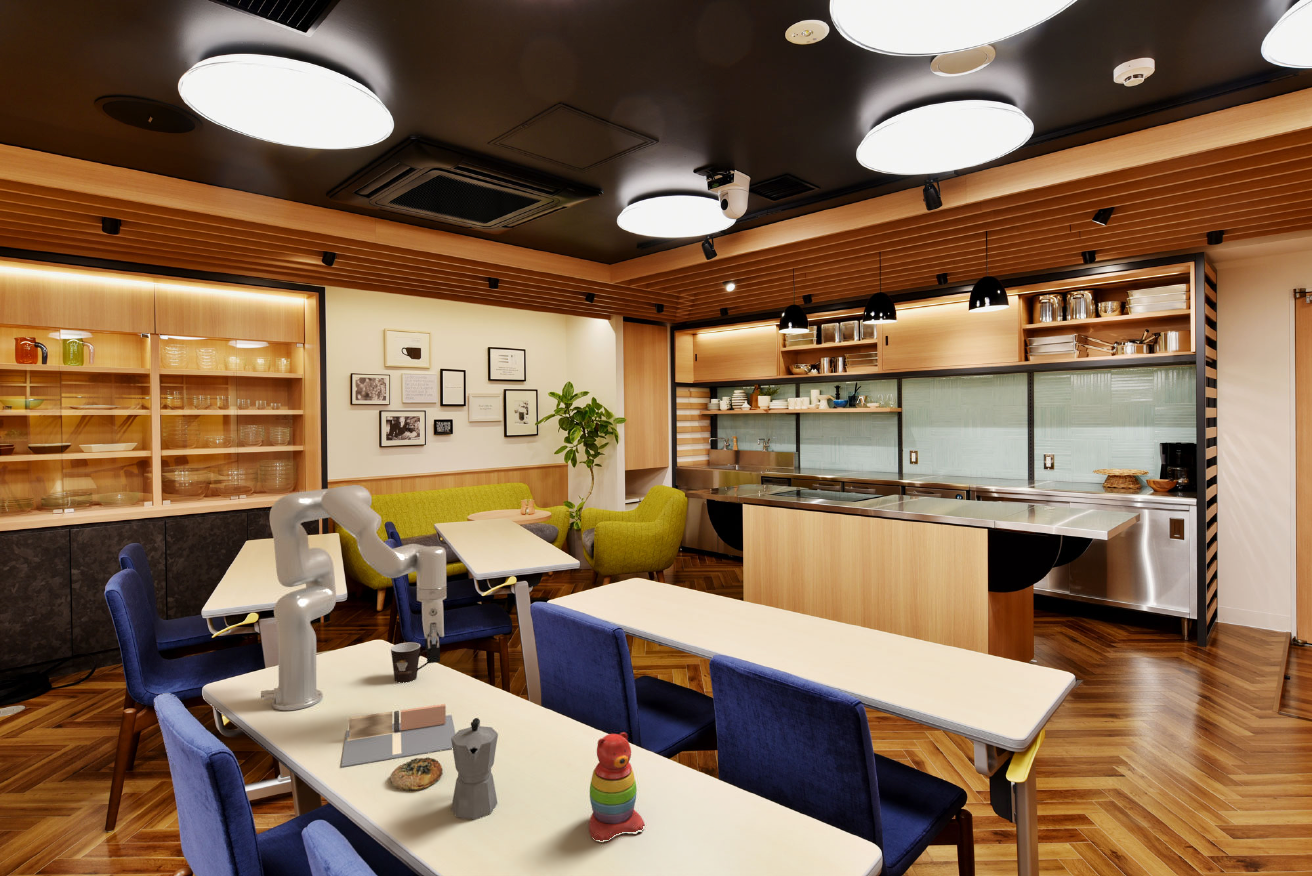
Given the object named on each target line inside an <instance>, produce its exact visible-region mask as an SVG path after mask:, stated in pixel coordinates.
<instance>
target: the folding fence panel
mask: <svg viewBox="0 0 1312 876" xmlns="http://www.w3.org/2000/svg"><path fill="white" fill-rule="evenodd" d="M446 708H447V707H446V703H443V704H434V705H428V706H421V707H414V708H413V707H412V708H407V709H401V710H400V723H401V731H402V730H408V729H415V728H421V727H428V726H434V725H440V724H446V716H447V715H446V711H447V710H446Z"/></svg>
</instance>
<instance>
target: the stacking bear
mask: <svg viewBox="0 0 1312 876" xmlns="http://www.w3.org/2000/svg"><path fill="white" fill-rule="evenodd" d="M628 737H629V736H628V734H627V733H626V732H620V733H619V734H617V733H609V734H606V735H605V736H603V737H602V738H599V739H598V741H597V745H596V746H597V747H596V757H597V759H598V763H597V765H596V766H595V768H594V769H593V771H592V774H591V775H592V776H591V781H590V785H589V799H590V800H589V801H590V805H591V810H592V813H591V815H590V818H589V822H588V826H589V827H588V829H589V830H588V831H589V834H590V837H591V838H592V837H593V838H594V839H595V840H600V841H603V840H609V839H610V838H612V837H613V836H614V835H616V834H619V833H622V832H636V831H638V830H642V829H643V826H646V824H645V821H644V819H643V818H642V816H641V814H639V812H637V811H636V810H635V805H636V804H635V803H636V800H637V791H638V790H637V782H636V778H635V773H634V771H633V767H632V764H631V763H630V759H631V758H632V757H631V756H632V747H631V745H630V742H629V741H628ZM593 838H592V839H593ZM594 839H593V840H594ZM595 840H594V841H595Z"/></svg>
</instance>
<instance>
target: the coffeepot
mask: <svg viewBox="0 0 1312 876" xmlns="http://www.w3.org/2000/svg"><path fill="white" fill-rule="evenodd" d="M480 721H481V720H480V718H478V717H475V718H473V719H472V721H471V722H470V727H467V728H462V729H458V731H456V732H455V735H454V736H453V737H452V738H451V741H452V748H453V749H452V753H453V759H454V765H455V766H454V767H455V770H456V772H457V777H456V780H455V784H454V789H453V791H454V792H453V795H452V802H451V810H452V813H453V815H454V816H455V815H456V816H455V817H456V818H459V819H461V820H468V819H470V820H478V819H481V818H484V817H486V816H488V815H489V813H490V814H491V813H492V812H493V811H494V810H495V809H494V808H496V806H497V805H498V797H497V793H496V787H495V781H494V776H493V773H492V767H493V766H494V763H495V757H496V749H497V742H498V735H499V733H498V732H497V731H496V730H495V729H494V728H493V727H492V726H482V725H481V723H480ZM493 809H494V810H493ZM487 814H488V815H487ZM485 815H486V816H485ZM483 816H484V817H483ZM480 817H481V818H480ZM477 818H478V819H477Z"/></svg>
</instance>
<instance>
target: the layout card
mask: <svg viewBox="0 0 1312 876" xmlns="http://www.w3.org/2000/svg"><path fill="white" fill-rule="evenodd" d="M455 734H456V730H455V724H454V721H453V715H452V714H449V715H446V724H440V725H434V726H428V727H421V728H415V729H408V730H402V731H401V722H399V732H394V723H392V733H389V734H383V735H376V736H370V737H363V738H357V739H350V740H349V730H346V732H345V738H344V739H345V740H344V744H343V745H344V746H343V752H342V761H341V767H340V768H348V767H353V766H359V765H366V764H372V763H378V762H384V761H388V760H389V761H390V760H395V759H401V758H407V757H411V756H418V755H419V754H420V755H424V754H429V753H428V752H432V753H436V752H435V751H438V752H441V751H440V750H443V751H450V750H453V749H452V741H451V738H452V737H453V736H454V735H455Z"/></svg>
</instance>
